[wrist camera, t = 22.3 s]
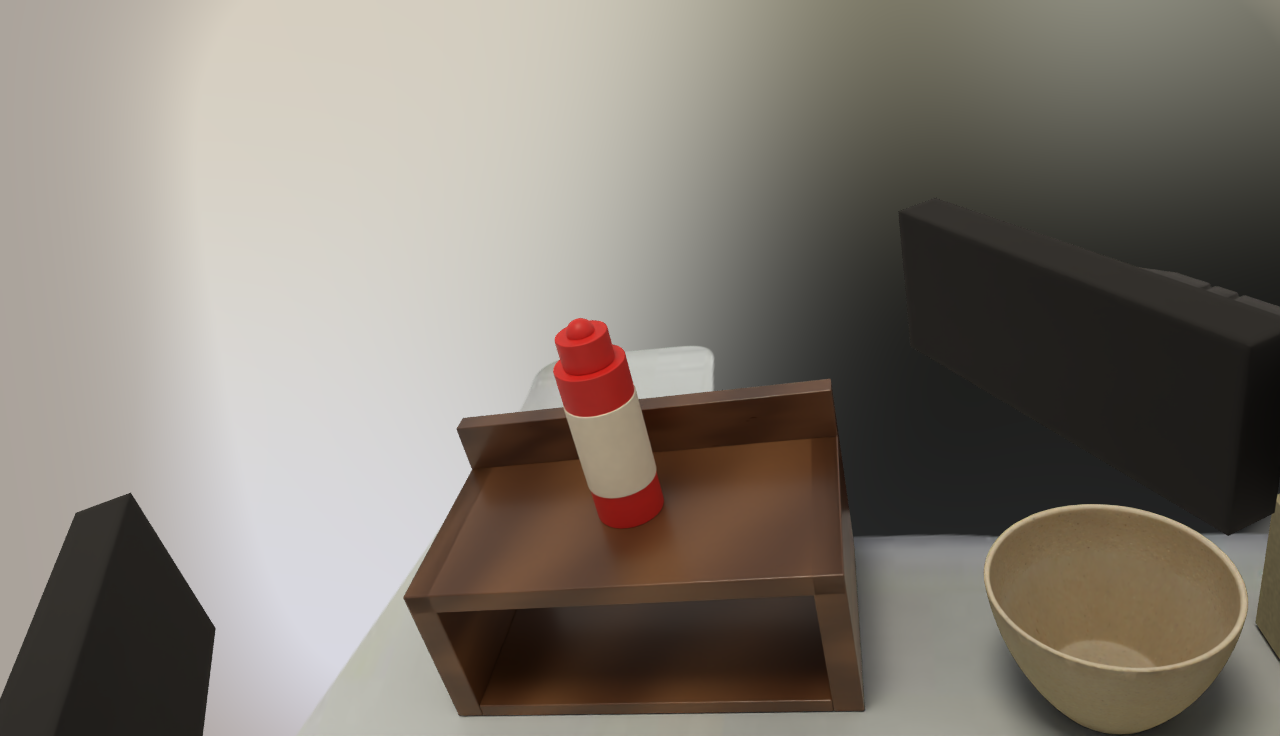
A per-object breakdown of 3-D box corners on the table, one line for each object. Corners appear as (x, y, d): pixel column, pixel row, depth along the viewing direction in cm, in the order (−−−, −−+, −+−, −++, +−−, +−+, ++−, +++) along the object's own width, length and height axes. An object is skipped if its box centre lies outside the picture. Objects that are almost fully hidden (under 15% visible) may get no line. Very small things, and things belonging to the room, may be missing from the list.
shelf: (458, 716, 49) (381, 552, 43) (519, 565, 59) (462, 417, 53) (864, 711, 43) (836, 522, 38) (854, 546, 53) (830, 378, 48)
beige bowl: (1013, 593, 47) (1010, 488, 44) (1236, 640, 42) (1252, 525, 39) (966, 741, 41) (958, 630, 37) (1225, 822, 35) (1243, 700, 32)
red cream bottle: (590, 531, 46) (530, 343, 40) (604, 487, 49) (550, 307, 44) (659, 527, 45) (606, 333, 40) (669, 482, 48) (621, 297, 43)
